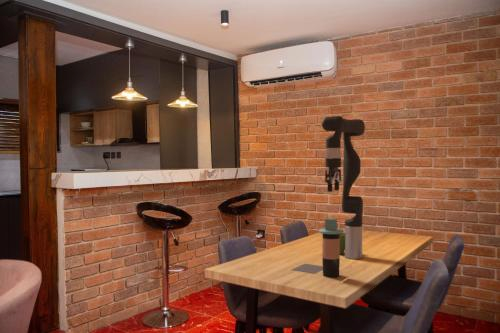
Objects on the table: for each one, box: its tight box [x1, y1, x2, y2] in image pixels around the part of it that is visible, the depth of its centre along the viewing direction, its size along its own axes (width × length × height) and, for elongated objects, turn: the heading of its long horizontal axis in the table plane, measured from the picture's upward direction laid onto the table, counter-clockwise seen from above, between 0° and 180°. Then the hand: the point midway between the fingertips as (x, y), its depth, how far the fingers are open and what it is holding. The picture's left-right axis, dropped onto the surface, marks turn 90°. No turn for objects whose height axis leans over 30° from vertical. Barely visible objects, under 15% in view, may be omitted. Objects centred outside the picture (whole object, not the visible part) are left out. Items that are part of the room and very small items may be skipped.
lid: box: [318, 217, 345, 235], centre depth 184 cm, size 11×11×6 cm
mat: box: [291, 263, 323, 275], centre depth 196 cm, size 15×12×1 cm
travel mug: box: [321, 233, 341, 279], centre depth 184 cm, size 8×8×20 cm
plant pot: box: [339, 232, 345, 255], centre depth 232 cm, size 12×12×11 cm
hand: (333, 190), depth 198 cm, fingers open, 8 cm apart
